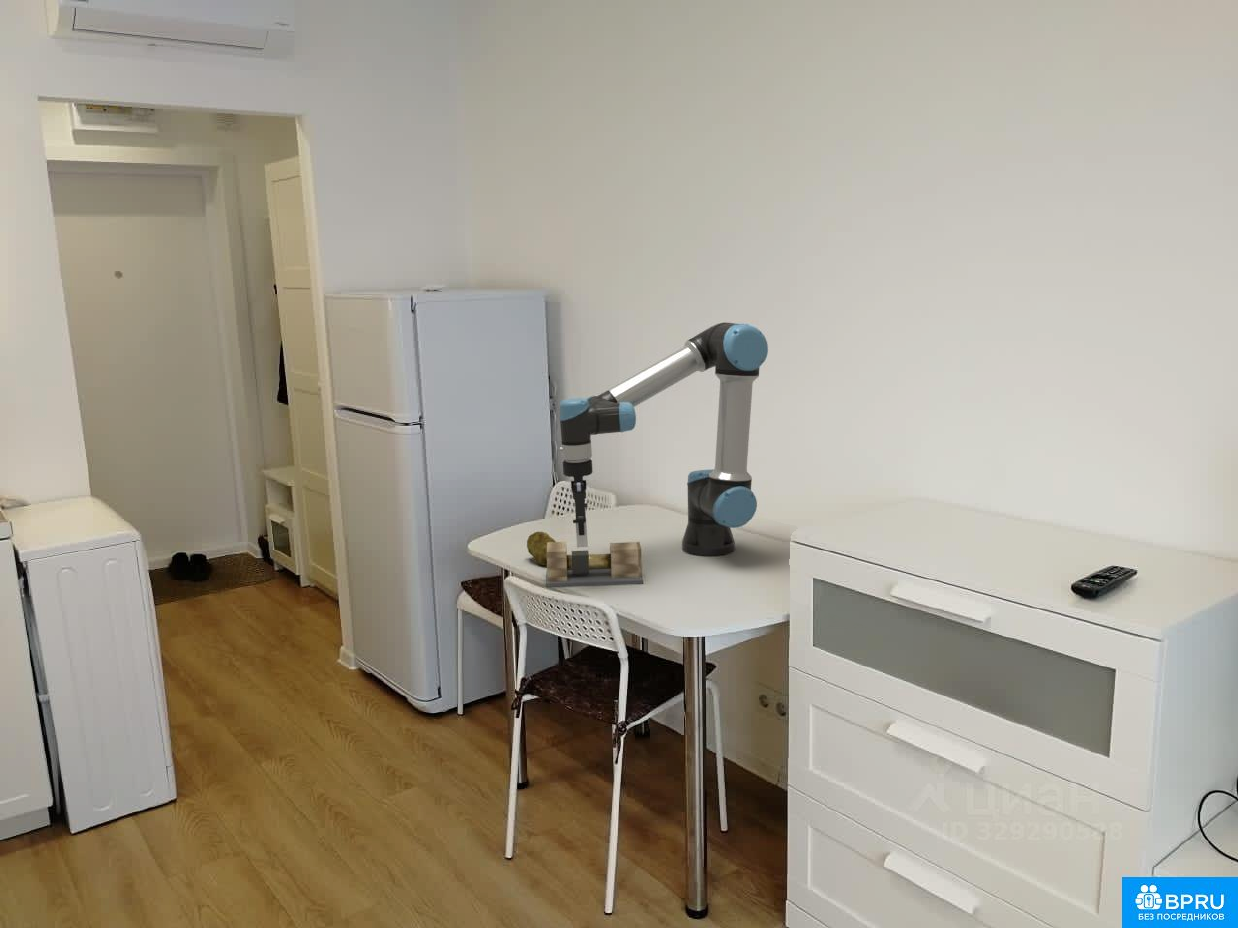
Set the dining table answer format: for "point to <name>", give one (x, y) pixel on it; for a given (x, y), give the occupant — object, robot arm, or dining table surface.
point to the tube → (587, 562)
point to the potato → (539, 546)
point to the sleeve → (626, 560)
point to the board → (593, 579)
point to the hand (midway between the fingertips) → (582, 539)
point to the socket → (556, 561)
